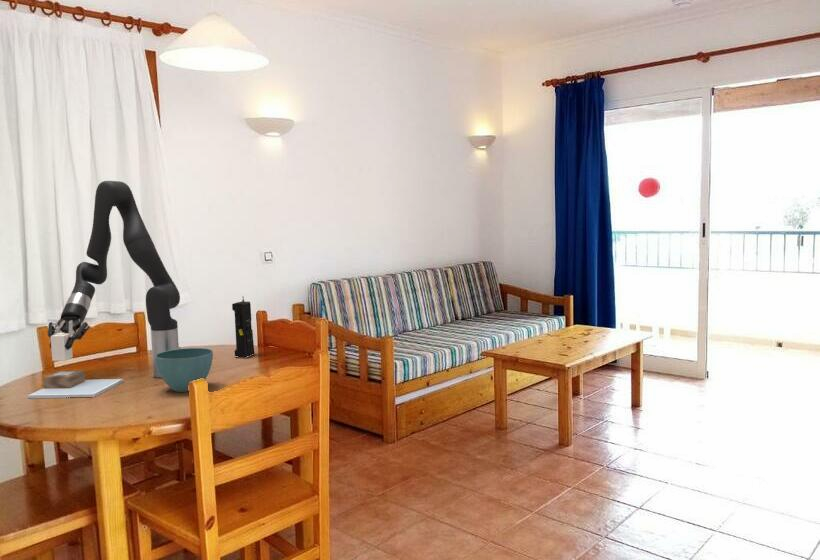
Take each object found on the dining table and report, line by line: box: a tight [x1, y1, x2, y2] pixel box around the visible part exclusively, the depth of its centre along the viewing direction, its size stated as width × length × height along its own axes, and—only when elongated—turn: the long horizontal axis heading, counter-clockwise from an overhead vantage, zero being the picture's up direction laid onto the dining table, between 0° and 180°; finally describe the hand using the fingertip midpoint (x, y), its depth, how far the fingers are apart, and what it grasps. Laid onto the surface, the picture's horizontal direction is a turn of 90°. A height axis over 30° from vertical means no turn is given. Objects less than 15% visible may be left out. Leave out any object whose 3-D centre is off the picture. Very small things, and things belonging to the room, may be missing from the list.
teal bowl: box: [155, 347, 214, 393], centre depth 214 cm, size 18×18×12 cm
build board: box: [26, 369, 124, 399], centre depth 216 cm, size 22×20×5 cm
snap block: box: [50, 333, 74, 362], centre depth 219 cm, size 4×4×9 cm
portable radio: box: [231, 296, 255, 357], centre depth 263 cm, size 8×6×25 cm
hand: (59, 348), depth 217 cm, fingers closed on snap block, 4 cm apart
